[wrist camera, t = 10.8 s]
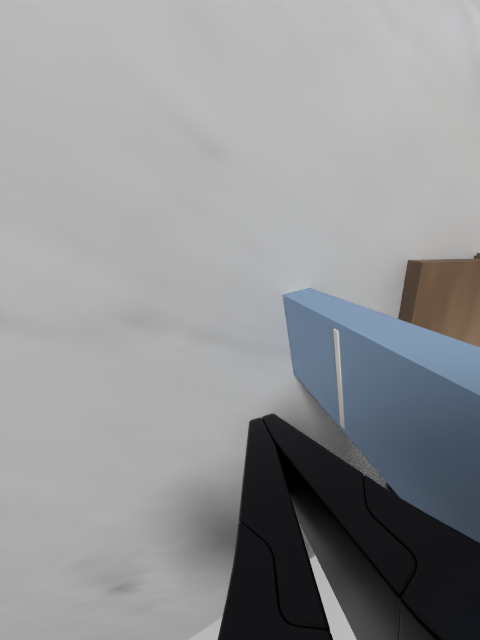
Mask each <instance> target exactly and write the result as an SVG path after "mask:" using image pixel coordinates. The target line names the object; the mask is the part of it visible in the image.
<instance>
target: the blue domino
mask: <svg viewBox="0 0 480 640" xmlns="http://www.w3.org/2000/svg"><path fill="white" fill-rule="evenodd" d="M283 300H284V307H285V314H286V322H287V329H288V336H289V343H290V351H291V358H292V365H293V372H294V375H295V376H296V377H297V378H298V379H299V380H300V382H301V383H302V384H303V385H304V386H305V387H306V389H307V390H308V391H309V392H310V393H311V394H312V396H313V397H314V398H315V399H316V400H317V401H318V403H319V404H320V405H321V406H322V407H323V409H324V410H325V411H326V412H327V413H328V414H329V416H330V417H331V418H332V419H333V420H334V421H335V423H336V424H337V425H338V426H339V427H340V428H341V430H342V431H343V432H344V433H345V434H346V435H347V437H348V438H349V439H350V440H351V441H352V442H353V444H354V445H355V446H356V447H357V448H358V449H359V451H360V452H361V453H362V454H363V455H364V456H365V458H366V459H367V460H368V461H369V462H370V463H371V465H372V466H373V467H374V468H375V469H376V470H377V472H378V473H379V474H380V475H381V476H382V477H383V479H384V480H385V481H386V482H387V483H388V484H389V486H390V487H391V488H392V489H393V490H394V491H395V493H396V494H397V495H398V496H399V497H400V498H401V499H403V500H405V501H406V502H408V503H410V504H411V505H413V506H415V507H417V508H418V509H420V510H422V511H423V512H425V513H427V514H429V515H431V516H432V517H434V518H436V519H438V520H439V521H441V522H443V523H445V524H447V525H448V526H450V527H452V528H454V529H456V530H457V531H459V532H461V533H463V534H465V535H466V536H468V537H470V538H472V539H474V540H475V541H477V542H479V543H480V347H477V346H474V345H471V344H468V343H465V342H462V341H460V340H457V339H454V338H451V337H448V336H445V335H442V334H440V333H437V332H434V331H431V330H428V329H425V328H422V327H420V326H417V325H414V324H411V323H408V322H405V321H402V320H400V319H397V318H394V317H391V316H388V315H385V314H382V313H380V312H377V311H374V310H371V309H368V308H365V307H362V306H360V305H357V304H354V303H351V302H348V301H345V300H342V299H340V298H337V297H334V296H331V295H328V294H325V293H322V292H320V291H317V290H314V289H311V288H308V289H304V290H300V291H296V292H292V293H288V294H284V295H283Z"/></svg>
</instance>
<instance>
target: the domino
mask: <svg viewBox="0 0 480 640" xmlns="http://www.w3.org/2000/svg"><path fill="white" fill-rule="evenodd" d="M399 319H400V320H402V321H405V322H408V323H411V324H414V325H417V326H420V327H422V328H425V329H428V330H431V331H434V332H437V333H440V334H442V335H445V336H448V337H451V338H454V339H457V340H460V341H462V342H465V343H468V344H471V345H474V346H477V347H480V259H446V260H408V265H407V271H406V277H405V283H404V289H403V295H402V302H401V308H400V314H399Z"/></svg>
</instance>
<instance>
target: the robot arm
mask: <svg viewBox="0 0 480 640" xmlns="http://www.w3.org/2000/svg"><path fill="white" fill-rule="evenodd" d="M387 488H388V490H387V489H385V488H384V487H382V486H381V485H379V484H378V483H376V482H375V481H373V480H372V479H370V478H369V477H367V476H366V475H365V476H364V477H363V473H361V472H360V471H358V470H357V469H355V468H354V467H352V466H351V465H349V464H348V463H346V462H345V461H343V460H342V459H340V458H339V457H337V456H336V455H334V454H333V453H331V452H330V451H329V450H327V449H326V448H324V447H323V446H321V445H320V444H318V443H317V442H315V441H314V440H312V439H311V438H309V437H308V436H306V435H305V434H303V433H302V432H300V431H299V430H297V429H296V428H294V427H293V426H291V425H290V424H288V423H287V422H285V421H284V420H282V419H281V418H279V417H278V416H277V415H275V414H269V415H266V416H263V417H262V418H256V419H253V420H250V422H249V429H248V438H247V448H246V457H245V466H244V476H243V485H242V495H241V504H240V513H239V523H238V530H237V539H236V547H235V554H234V561H233V568H232V573H231V578H230V584H229V589H228V594H227V599H226V604H225V608H224V613H223V618H222V622H221V627H220V632H219V636H218V640H333V638H332V635H331V633H330V628H329V624H328V621H327V618H326V614H325V611H324V607H323V604H322V601H321V597H320V594H319V590H318V587H317V584H316V580H315V577H314V574H313V570H312V567H311V564H310V560H309V557H308V553H307V550H306V546H305V543H304V540H303V536H302V533H301V529H300V526H299V523H298V520H299V522H300V524H301V526H302V528H303V530H304V532H305V534H306V536H307V538H308V540H309V542H310V545H311V547H312V549H313V551H314V553H315V555H316V557H317V559H318V561H319V563H320V565H321V567H322V569H323V571H324V573H325V575H326V577H327V579H328V581H329V583H330V586H331V588H332V590H333V592H334V594H335V596H336V598H337V600H338V602H339V604H340V606H341V608H342V610H343V612H344V614H345V616H346V618H347V620H348V622H349V624H350V626H351V629H352V630H353V633H354V634H355V637H356V639H357V640H480V543H479V542H477V541H475V540H474V539H472V538H470V537H468V536H466V535H465V534H463V533H461V532H459V531H457V530H456V529H454V528H452V527H450V526H448V525H447V524H445V523H443V522H441V521H439V520H438V519H436V518H434V517H432V516H431V515H429V514H427V513H425V512H423V511H422V510H420V509H418V508H417V507H415V506H413V505H411V504H410V503H408V502H406V501H405V500H403V499H401V498H400V497H399V496H398V495H397V494H396V493H395V491H394V490H393V489H392V488H391V487H390V486H389V485H388V487H387ZM297 518H298V519H297Z"/></svg>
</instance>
